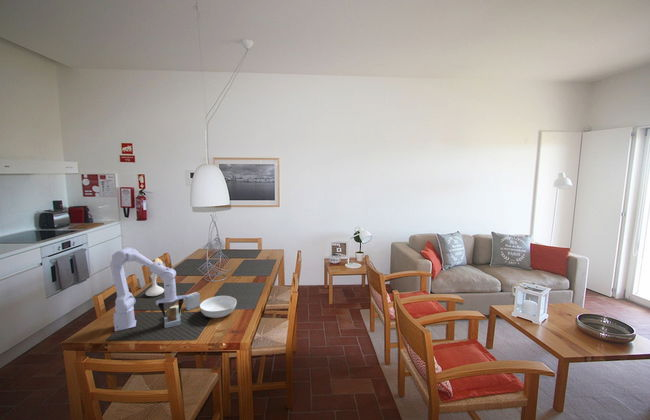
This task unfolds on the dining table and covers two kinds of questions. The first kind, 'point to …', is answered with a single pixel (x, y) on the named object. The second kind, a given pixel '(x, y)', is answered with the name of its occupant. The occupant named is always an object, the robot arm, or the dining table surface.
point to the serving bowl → (218, 306)
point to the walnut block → (171, 314)
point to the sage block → (177, 309)
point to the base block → (172, 322)
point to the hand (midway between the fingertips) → (171, 313)
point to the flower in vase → (155, 288)
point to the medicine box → (192, 301)
